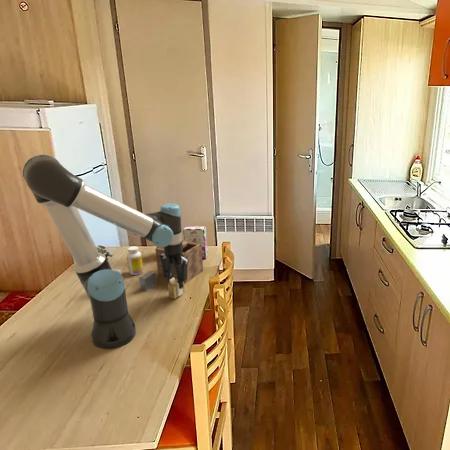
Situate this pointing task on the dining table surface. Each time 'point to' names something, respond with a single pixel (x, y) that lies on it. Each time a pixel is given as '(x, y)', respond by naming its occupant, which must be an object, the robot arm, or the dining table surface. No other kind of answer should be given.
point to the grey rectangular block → (148, 280)
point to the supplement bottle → (134, 261)
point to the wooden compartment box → (189, 252)
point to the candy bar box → (197, 237)
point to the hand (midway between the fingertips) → (176, 293)
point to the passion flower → (103, 251)
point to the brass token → (173, 289)
